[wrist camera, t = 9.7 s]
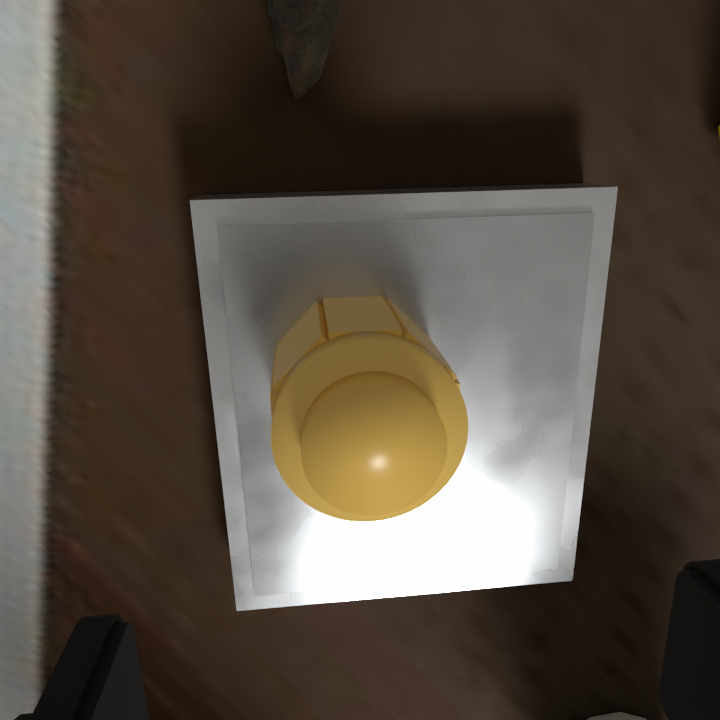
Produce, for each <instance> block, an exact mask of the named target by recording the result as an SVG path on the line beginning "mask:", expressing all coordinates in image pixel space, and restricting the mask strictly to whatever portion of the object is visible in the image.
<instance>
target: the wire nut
mask: <svg viewBox="0 0 720 720" xmlns="http://www.w3.org/2000/svg"><path fill="white" fill-rule="evenodd" d="M270 402H271V415H272V425H271V447H272V453H273V457H274V460H275V464H276V467H277V469H278V471H279V473H280V475H281V477H282V478H283V480H284V481H285V483H286V484H287V486H288V487H289V488H290V489H291V491H292V492H293V493H294V494H295V495H296V496H297V497H298V498H300V499H301V500H302V501H303V502H304V503H306V504H307V505H309V506H310V507H312V508H313V509H315V510H317V511H319V512H321V513H324V514H326V515H329V516H332V517H335V518H338V519H343V520H348V521H358V522H370V521H380V520H386V519H390V518H394V517H398V516H400V515H403V514H406V513H408V512H410V511H412V510H414V509H416V508H418V507H420V506H422V505H423V504H425V503H426V502H428V501H429V500H430V499H432V498H433V497H434V496H435V495H436V494H438V493H439V492H440V491H441V490H442V489H443V488H444V486H445V485H446V484H447V483H448V482H449V480H450V479H451V478H452V476H453V475H454V473H455V472H456V470H457V468H458V466H459V465H460V462H461V460H462V457H463V455H464V452H465V448H466V444H467V438H468V416H467V410H466V406H465V403H464V400H463V396H462V394H461V392H460V382H459V381H458V379H457V375H456V374H455V373H454V371H453V370H452V368H451V367H450V366H449V364H448V363H447V361H446V360H445V359H444V357H443V356H442V354H441V353H440V352H439V350H438V349H437V347H436V346H435V344H434V343H433V342H432V340H431V339H430V337H429V336H428V335H427V334H426V333H425V332H424V331H423V330H421V329H420V328H419V327H418V326H417V325H416V324H415V323H414V322H413V321H412V320H411V319H410V318H409V317H408V316H407V315H405V314H404V313H403V312H402V311H401V310H400V309H399V308H398V307H397V306H396V305H395V304H394V303H393V302H392V301H391V300H390V299H387V300H386V301H385V300H384V298H383V297H382V296H370V297H347V298H323V306H322V305H320V304H319V303H318V302H316V303H315V304H314V305H313V306H312V307H311V308H310V309H309V310H308V311H307V312H306V313H305V314H304V315H303V316H302V317H301V319H300V320H299V321H298V322H297V323H296V324H295V325H294V326H293V327H292V328H291V329H290V330H289V331H288V332H287V333H286V335H285V336H284V337H283V338H282V339H281V340H280V341H279V342H278V343H277V348H276V349H275V353H274V362H273V371H272V380H271V389H270Z"/></svg>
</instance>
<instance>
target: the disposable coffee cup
mask: <svg viewBox="0 0 720 720" xmlns="http://www.w3.org/2000/svg"><path fill="white" fill-rule="evenodd" d="M587 720H647V719H646V718H643V717H639V716H635V715H631V714H627V713H623V712H616V713H610V714H605V715H599V716H593V717H590V718H588V719H587Z"/></svg>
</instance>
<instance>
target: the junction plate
mask: <svg viewBox="0 0 720 720" xmlns="http://www.w3.org/2000/svg"><path fill="white" fill-rule="evenodd" d="M617 190H618V187H615V186H606V185H597V184H588V183H570V184H537V185H505V186H473V187H440V188H408V189H376V190H343V191H311V192H279V193H246V194H214V195H200V196H198V197H196V198H194V199H191V200H190V208H191V217H192V226H193V235H194V243H195V252H196V261H197V269H198V278H199V287H200V296H201V304H202V313H203V322H204V330H205V339H206V348H207V357H208V365H209V374H210V383H211V391H212V400H213V409H214V418H215V426H216V435H217V444H218V452H219V461H220V470H221V479H222V487H223V496H224V505H225V513H226V522H227V531H228V540H229V548H230V557H231V566H232V574H233V583H234V592H235V600H236V609H237V611H242V610H253V609H264V608H276V607H287V606H298V605H309V604H320V603H331V602H342V601H353V600H364V599H375V598H386V597H397V596H409V595H420V594H431V593H442V592H453V591H464V590H475V589H486V588H497V587H508V586H519V585H530V584H542V583H553V582H564V581H573V572H574V563H575V555H576V546H577V537H578V529H579V520H580V511H581V503H582V494H583V485H584V477H585V468H586V459H587V450H588V442H589V433H590V424H591V416H592V407H593V398H594V390H595V381H596V372H597V364H598V355H599V346H600V338H601V329H602V320H603V312H604V303H605V294H606V286H607V277H608V268H609V259H610V251H611V242H612V233H613V225H614V216H615V207H616V199H617ZM370 296H382V297H383V298H384V300H385V301H386V300H387V299H390V300H391V301H392V302H393V303H394V304H395V305H396V306H397V307H398V308H399V309H400V310H401V311H402V312H403V313H404V314H405V315H407V316H408V317H409V318H410V319H411V320H412V321H413V322H414V323H415V324H416V325H417V326H418V327H419V328H420V329H421V330H423V331H424V332H425V333H426V334H427V335H428V336H429V337H430V339H431V340H432V342H433V343H434V344H435V346H436V347H437V349H438V350H439V352H440V353H441V354H442V356H443V357H444V359H445V360H446V361H447V363H448V364H449V366H450V367H451V368H452V370H453V371H454V373H455V374H456V375H457V379H458V381H459V382H460V392H461V394H462V396H463V400H464V403H465V406H466V410H467V416H468V438H467V444H466V448H465V452H464V455H463V457H462V460H461V462H460V465H459V466H458V468H457V470H456V472H455V473H454V475H453V476H452V478H451V479H450V480H449V482H448V483H447V484H446V485H445V486H444V488H443V489H442V490H441V491H440V492H439V493H438V494H436V495H435V496H434V497H433V498H432V499H430V500H429V501H428V502H426V503H425V504H423V505H422V506H420V507H418V508H416V509H414V510H412V511H410V512H408V513H406V514H403V515H400V516H398V517H394V518H390V519H386V520H380V521H370V522H358V521H348V520H343V519H338V518H335V517H332V516H329V515H326V514H324V513H321V512H319V511H317V510H315V509H313V508H312V507H310V506H309V505H307V504H306V503H304V502H303V501H302V500H301V499H300V498H298V497H297V496H296V495H295V494H294V493H293V492H292V491H291V489H290V488H289V487H288V486H287V484H286V483H285V481H284V480H283V478H282V477H281V475H280V473H279V471H278V469H277V467H276V464H275V460H274V457H273V453H272V447H271V425H272V415H271V402H270V389H271V380H272V371H273V362H274V353H275V349H276V348H277V343H278V342H279V341H280V340H281V339H282V338H283V337H284V336H285V335H286V333H287V332H288V331H289V330H290V329H291V328H292V327H293V326H294V325H295V324H296V323H297V322H298V321H299V320H300V319H301V317H302V316H303V315H304V314H305V313H306V312H307V311H308V310H309V309H310V308H311V307H312V306H313V305H314V304H315V303H316V302H318V303H319V304H320V305H322V306H323V298H347V297H370Z"/></svg>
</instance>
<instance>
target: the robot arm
mask: <svg viewBox="0 0 720 720" xmlns="http://www.w3.org/2000/svg"><path fill="white" fill-rule="evenodd" d="M659 697H660V702H661V705H662V708H663V710H664V712H665V714H666V716H667V717H668V719H669V720H720V559H715V560H704V561H693V562H689V563H687V564H686V565H685V567H684V570H683V571H682V572H679V573H678V575H677V578H676V583H675V589H674V596H673V602H672V609H671V615H670V622H669V628H668V635H667V641H666V648H665V654H664V661H663V667H662V674H661V680H660V687H659ZM14 720H150V719H149V714H148V708H147V702H146V696H145V690H144V684H143V678H142V673H141V667H140V661H139V655H138V649H137V643H136V637H135V632H134V627H133V624H132V623H131V622H127V623H123V622H122V618H121V617H120V615H119V614H110V615H99V616H88V617H82V618H81V619H80V620H79V621H78V623H77V624H76V626H75V628H74V630H73V632H72V634H71V636H70V639H69V641H68V643H67V645H66V647H65V649H64V651H63V653H62V655H61V657H60V659H59V661H58V663H57V665H56V667H55V669H54V671H53V673H52V675H51V677H50V679H49V681H48V683H47V685H46V687H45V690H44V692H43V694H42V696H41V698H40V700H39V702H38V704H37V706H36V708H35V710H34V712H33V713H30V714H21V715H19V716H18V717H17V718H16V719H14Z"/></svg>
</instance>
